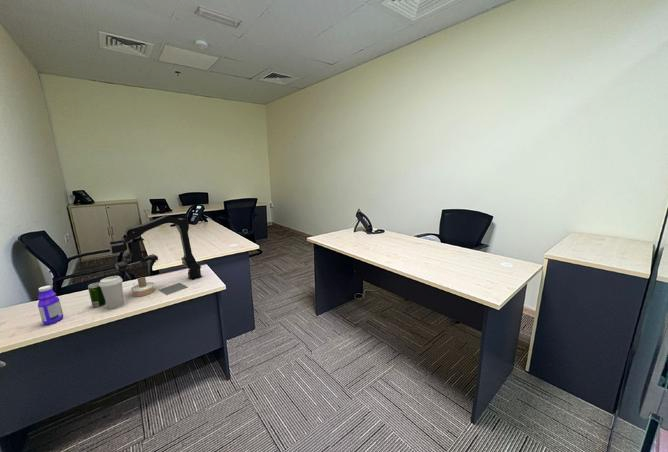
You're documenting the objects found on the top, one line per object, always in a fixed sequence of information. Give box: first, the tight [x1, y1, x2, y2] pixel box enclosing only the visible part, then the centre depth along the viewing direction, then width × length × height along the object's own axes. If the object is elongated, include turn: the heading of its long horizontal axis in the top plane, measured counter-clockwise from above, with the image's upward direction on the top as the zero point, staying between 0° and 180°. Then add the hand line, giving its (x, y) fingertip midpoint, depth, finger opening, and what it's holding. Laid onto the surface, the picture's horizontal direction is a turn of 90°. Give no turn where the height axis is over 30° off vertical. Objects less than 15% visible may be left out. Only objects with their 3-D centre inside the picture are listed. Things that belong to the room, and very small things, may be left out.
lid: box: [130, 276, 156, 293], centre depth 150 cm, size 11×11×6 cm
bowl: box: [132, 286, 155, 297], centre depth 151 cm, size 10×10×4 cm
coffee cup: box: [99, 275, 125, 310], centre depth 136 cm, size 10×10×15 cm
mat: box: [158, 282, 189, 296], centre depth 155 cm, size 12×12×1 cm
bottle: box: [37, 285, 64, 325], centre depth 123 cm, size 7×6×17 cm
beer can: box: [87, 281, 107, 309], centre depth 137 cm, size 5×5×12 cm
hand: (140, 276), depth 149 cm, fingers open, 9 cm apart
